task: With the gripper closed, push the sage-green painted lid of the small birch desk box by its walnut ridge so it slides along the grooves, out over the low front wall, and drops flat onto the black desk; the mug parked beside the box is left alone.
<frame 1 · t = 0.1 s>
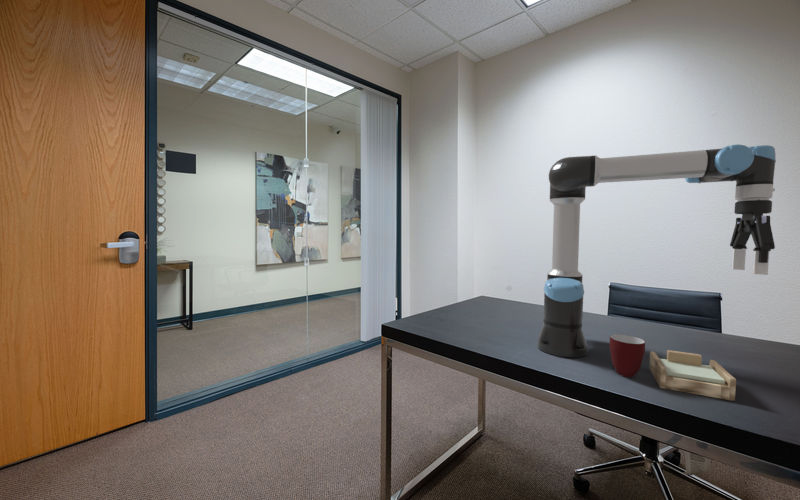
hand: (748, 271, 98), 28 cm above the table, fingers open, 13 cm apart
birch box: (687, 383, 86), on the table
mug: (623, 373, 93), on the table
lid: (688, 372, 86), point 3 cm above the table, touching birch box
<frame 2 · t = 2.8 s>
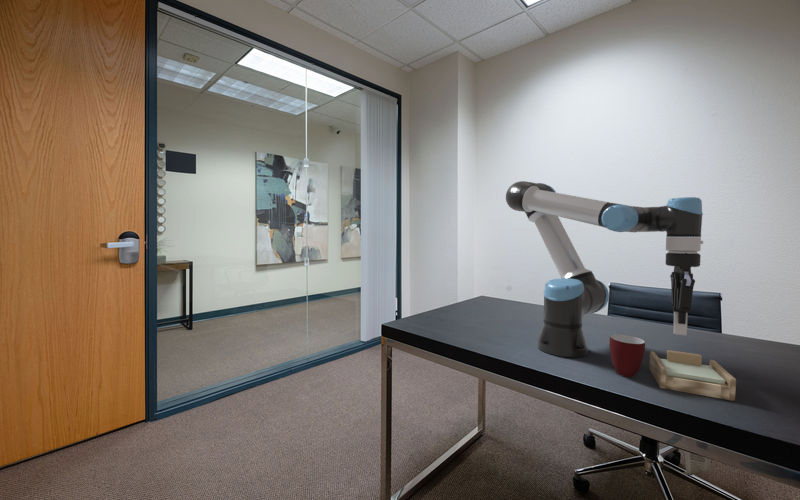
hand: (679, 334, 94), 10 cm above the table, fingers closed
nothing on the table moved.
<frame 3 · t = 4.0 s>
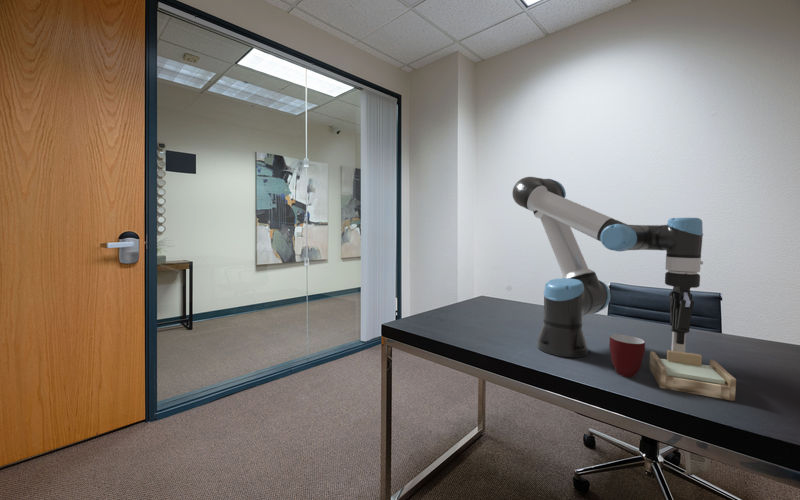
hand: (677, 353, 94), 5 cm above the table, fingers closed
nothing on the table moved.
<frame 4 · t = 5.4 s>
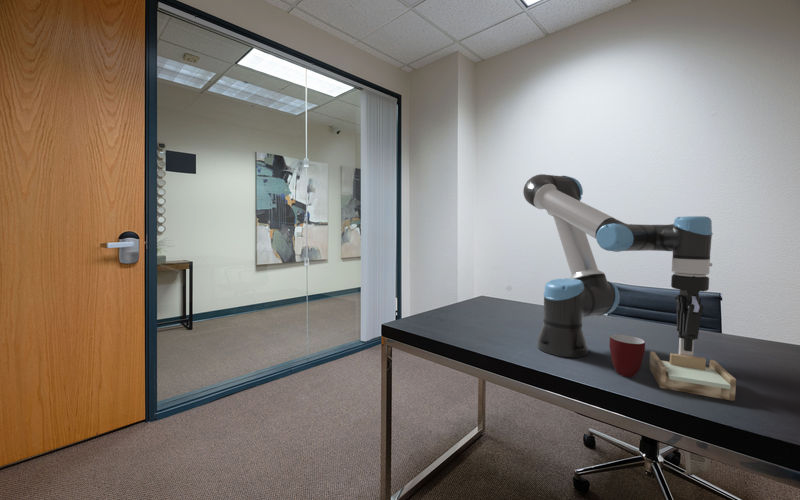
hand: (685, 361, 89), 5 cm above the table, fingers closed
lid: (692, 376, 84), point 3 cm above the table, touching birch box
everything else where it was.
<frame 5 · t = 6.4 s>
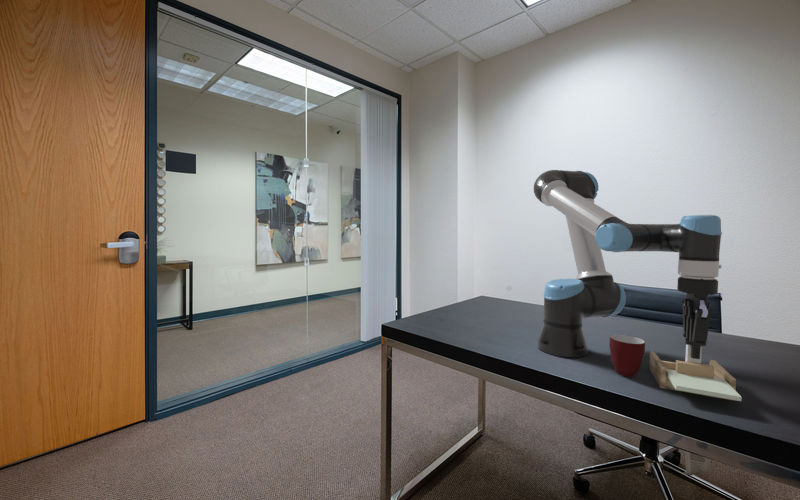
hand: (692, 369, 83), 5 cm above the table, fingers closed
lid: (699, 385, 78), point 3 cm above the table
everything else where it was.
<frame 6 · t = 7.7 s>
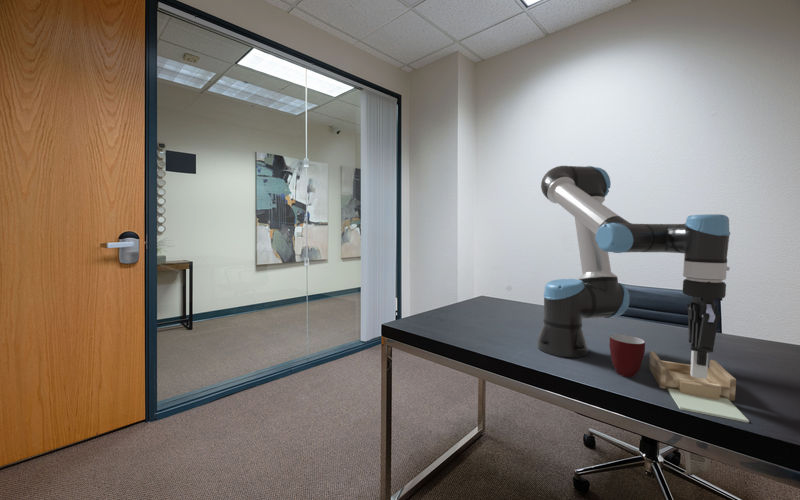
hand: (698, 376, 79), 5 cm above the table, fingers closed
lid: (704, 407, 75), on the table
everything else where it was.
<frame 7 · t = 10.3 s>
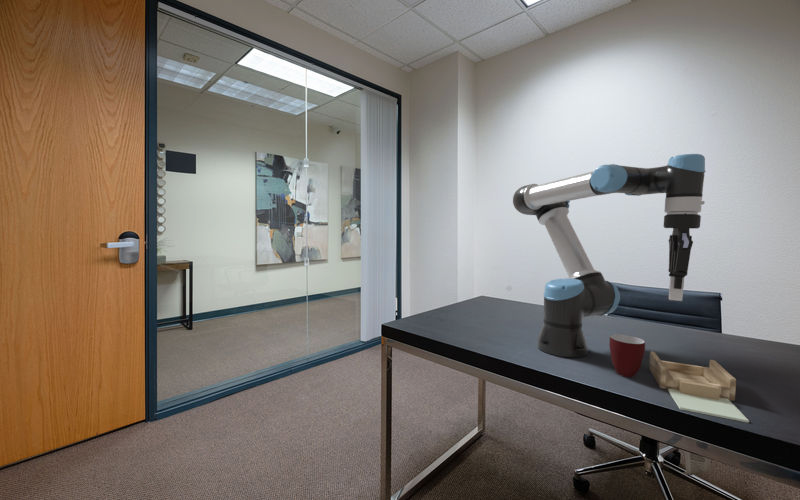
hand: (675, 299, 90), 21 cm above the table, fingers closed
nothing on the table moved.
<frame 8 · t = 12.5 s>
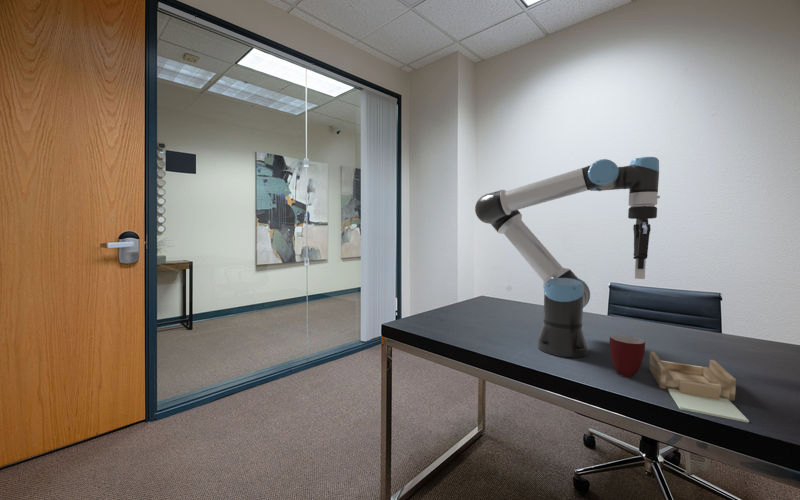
hand: (639, 278, 108), 24 cm above the table, fingers closed
nothing on the table moved.
at the end: lid inside the target area (2.8 cm from its centre), on the table; lid tilted 0°; lid touching table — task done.
